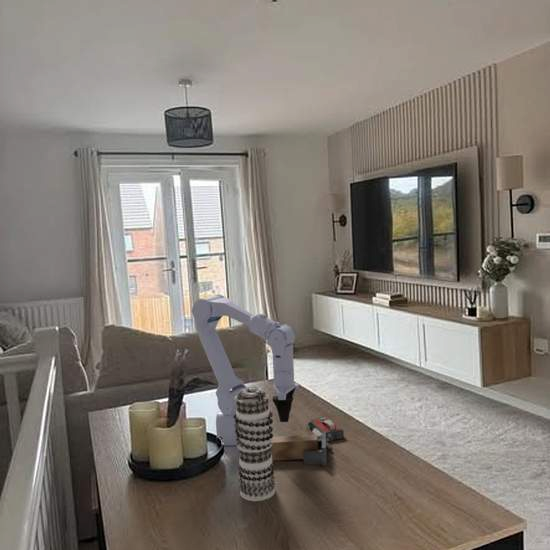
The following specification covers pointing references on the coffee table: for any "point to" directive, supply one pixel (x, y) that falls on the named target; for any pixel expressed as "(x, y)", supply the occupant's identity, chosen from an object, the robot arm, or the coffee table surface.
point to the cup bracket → (316, 453)
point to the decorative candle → (254, 444)
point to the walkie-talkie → (326, 429)
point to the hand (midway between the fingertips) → (285, 416)
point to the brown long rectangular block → (292, 446)
